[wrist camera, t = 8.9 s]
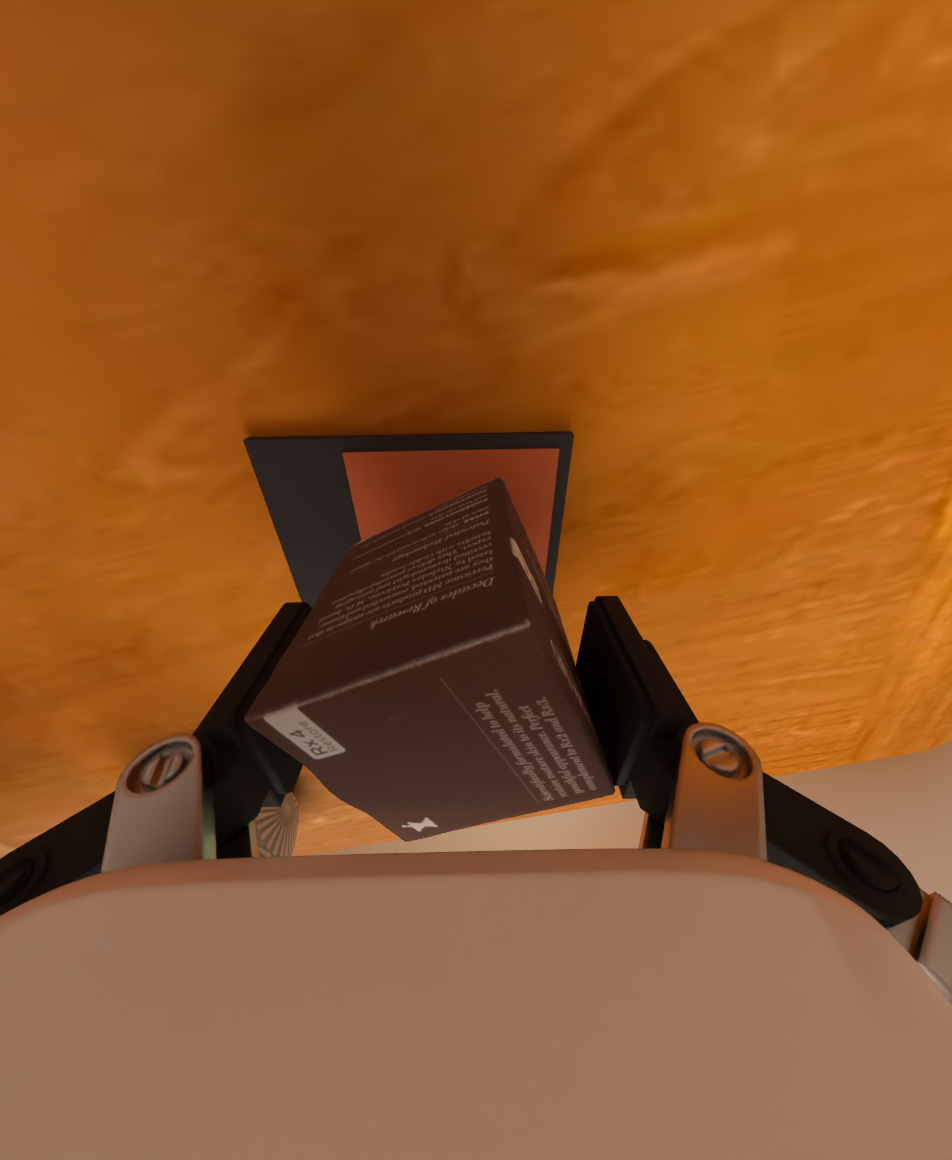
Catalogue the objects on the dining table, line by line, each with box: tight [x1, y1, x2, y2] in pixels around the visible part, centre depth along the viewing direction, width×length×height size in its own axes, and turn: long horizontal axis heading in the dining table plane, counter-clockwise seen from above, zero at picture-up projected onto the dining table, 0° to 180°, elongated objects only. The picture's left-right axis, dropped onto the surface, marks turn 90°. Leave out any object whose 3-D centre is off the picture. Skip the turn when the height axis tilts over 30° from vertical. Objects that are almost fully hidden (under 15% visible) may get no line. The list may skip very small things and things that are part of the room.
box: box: [245, 478, 615, 841], centre depth 11 cm, size 6×6×7 cm
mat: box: [244, 432, 574, 607], centre depth 19 cm, size 22×12×1 cm, turn 1°
